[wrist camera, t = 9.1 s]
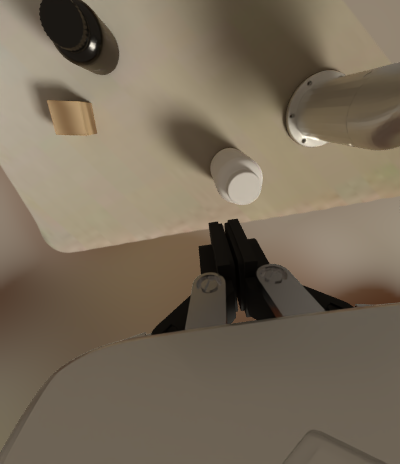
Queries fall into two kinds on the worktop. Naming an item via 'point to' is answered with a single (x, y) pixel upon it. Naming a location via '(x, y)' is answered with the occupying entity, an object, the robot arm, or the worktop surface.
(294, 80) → the worktop surface
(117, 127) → the worktop surface
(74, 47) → the supplement bottle
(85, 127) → the maple block
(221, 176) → the pill bottle
